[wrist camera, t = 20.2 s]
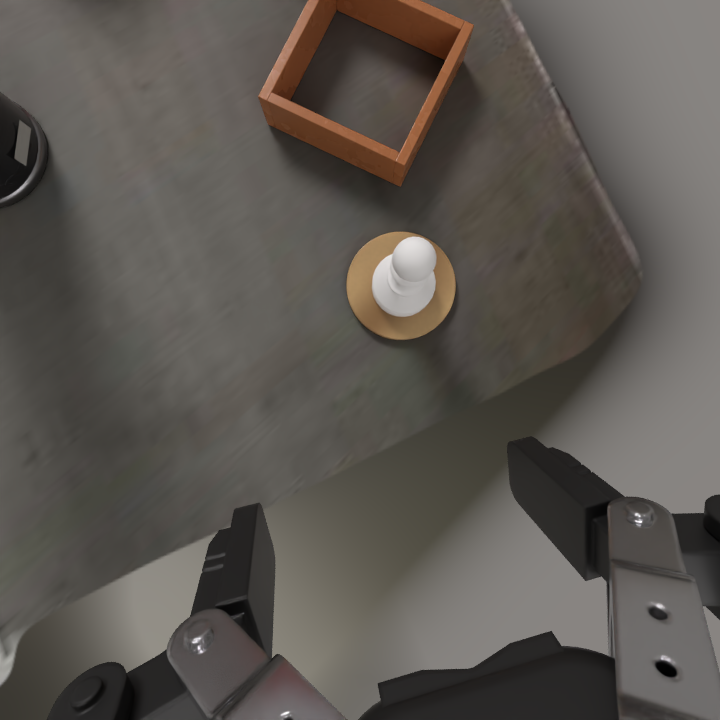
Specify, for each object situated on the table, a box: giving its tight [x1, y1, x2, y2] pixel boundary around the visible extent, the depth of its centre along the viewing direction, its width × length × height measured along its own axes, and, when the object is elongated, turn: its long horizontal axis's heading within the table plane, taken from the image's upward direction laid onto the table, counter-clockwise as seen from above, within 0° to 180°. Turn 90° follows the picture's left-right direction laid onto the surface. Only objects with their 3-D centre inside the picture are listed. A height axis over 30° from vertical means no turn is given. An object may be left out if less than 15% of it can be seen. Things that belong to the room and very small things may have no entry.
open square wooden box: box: [258, 0, 474, 187], centre depth 34 cm, size 13×13×4 cm
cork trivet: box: [347, 232, 456, 340], centre depth 35 cm, size 9×9×1 cm
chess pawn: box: [372, 237, 436, 317], centre depth 30 cm, size 5×5×9 cm
